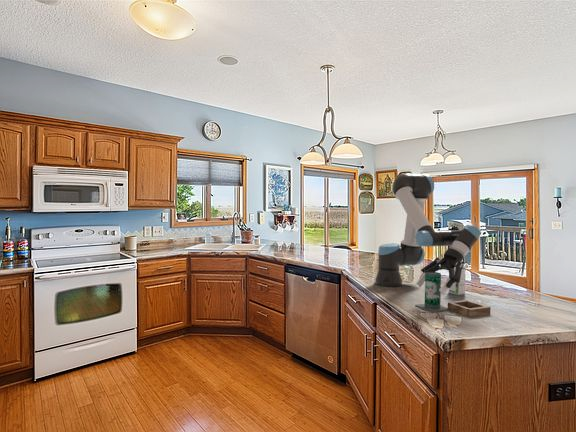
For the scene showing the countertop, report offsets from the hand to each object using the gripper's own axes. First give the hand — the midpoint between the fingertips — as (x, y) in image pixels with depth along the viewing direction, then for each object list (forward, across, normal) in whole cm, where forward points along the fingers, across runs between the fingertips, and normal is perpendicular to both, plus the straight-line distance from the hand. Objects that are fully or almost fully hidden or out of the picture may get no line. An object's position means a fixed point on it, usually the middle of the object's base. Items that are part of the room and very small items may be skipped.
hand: (429, 288), depth 144 cm
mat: (+5, 0, -8) cm, 9 cm away
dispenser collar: (-3, -9, -15) cm, 18 cm away
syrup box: (-17, +16, -30) cm, 38 cm away
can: (+4, 0, -7) cm, 9 cm away
